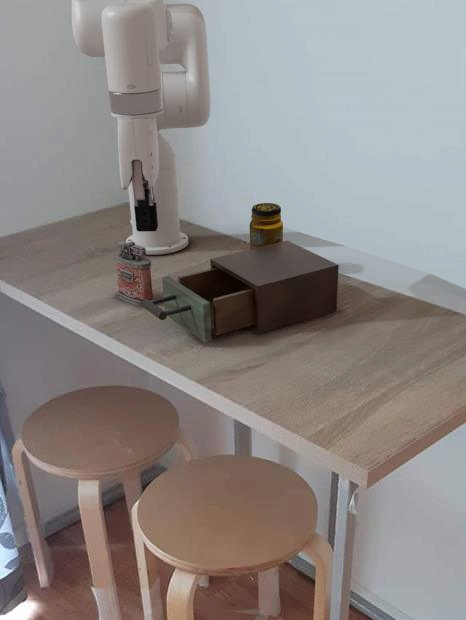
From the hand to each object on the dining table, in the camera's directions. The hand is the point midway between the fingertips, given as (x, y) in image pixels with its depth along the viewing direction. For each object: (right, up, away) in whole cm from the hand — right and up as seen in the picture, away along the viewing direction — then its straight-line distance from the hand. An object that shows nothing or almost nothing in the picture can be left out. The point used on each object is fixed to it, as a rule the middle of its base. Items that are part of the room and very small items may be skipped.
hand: (147, 229), depth 128 cm
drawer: (+9, -13, +5) cm, 17 cm away
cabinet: (+20, -10, +11) cm, 25 cm away
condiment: (+19, -1, +25) cm, 31 cm away
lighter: (-4, -8, +16) cm, 18 cm away
